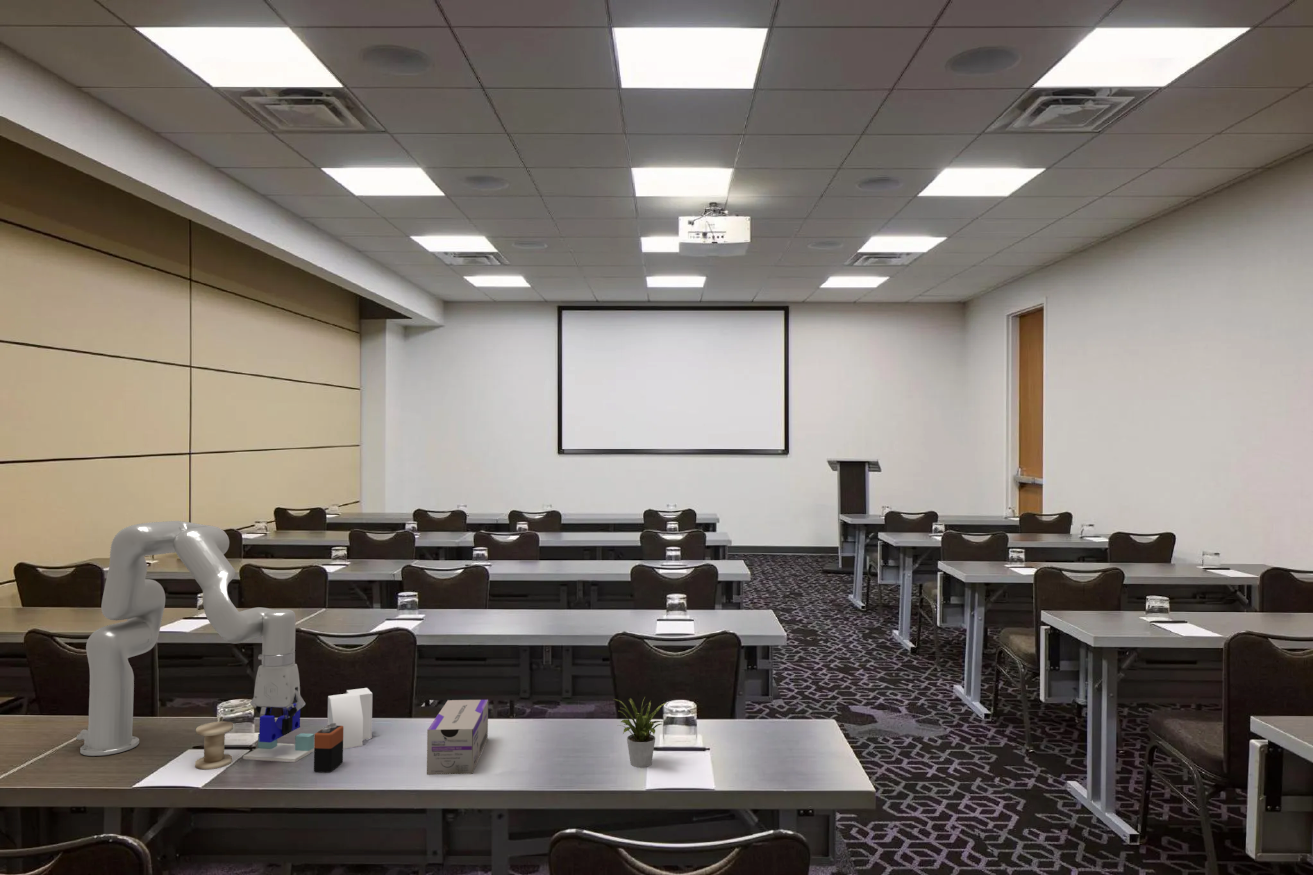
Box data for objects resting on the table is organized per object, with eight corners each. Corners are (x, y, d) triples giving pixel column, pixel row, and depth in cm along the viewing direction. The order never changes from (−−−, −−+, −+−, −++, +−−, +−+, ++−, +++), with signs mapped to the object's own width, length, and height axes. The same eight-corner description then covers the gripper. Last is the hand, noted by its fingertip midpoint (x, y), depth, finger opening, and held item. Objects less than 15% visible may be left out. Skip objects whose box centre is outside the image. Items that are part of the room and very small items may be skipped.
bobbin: (187, 768, 195) (188, 730, 195) (210, 757, 202) (211, 720, 203) (217, 770, 193) (218, 732, 194) (239, 758, 201) (240, 722, 202)
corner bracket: (366, 731, 223) (366, 687, 223) (375, 743, 213) (376, 697, 214) (324, 738, 217) (325, 693, 218) (332, 750, 208) (333, 703, 208)
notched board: (243, 759, 201) (243, 741, 201) (268, 745, 211) (268, 728, 211) (295, 762, 199) (295, 744, 199) (317, 748, 209) (318, 731, 209)
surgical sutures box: (472, 774, 192) (473, 728, 192) (426, 775, 191) (427, 729, 192) (487, 739, 217) (488, 699, 217) (447, 740, 216) (447, 700, 217)
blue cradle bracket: (284, 726, 210) (284, 702, 210) (299, 727, 209) (300, 703, 209) (253, 741, 198) (254, 716, 198) (270, 742, 197) (270, 717, 198)
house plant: (597, 769, 195) (597, 700, 196) (620, 750, 208) (620, 686, 209) (651, 777, 190) (652, 706, 191) (672, 758, 203) (672, 692, 203)
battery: (312, 772, 192) (313, 729, 193) (326, 762, 199) (327, 721, 200) (330, 772, 192) (331, 730, 193) (343, 762, 199) (344, 721, 199)
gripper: (238, 661, 202) (236, 736, 201) (300, 664, 199) (299, 739, 198) (257, 655, 209) (255, 726, 208) (317, 657, 207) (316, 729, 206)
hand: (277, 732), depth 203 cm, fingers closed on blue cradle bracket, 4 cm apart
